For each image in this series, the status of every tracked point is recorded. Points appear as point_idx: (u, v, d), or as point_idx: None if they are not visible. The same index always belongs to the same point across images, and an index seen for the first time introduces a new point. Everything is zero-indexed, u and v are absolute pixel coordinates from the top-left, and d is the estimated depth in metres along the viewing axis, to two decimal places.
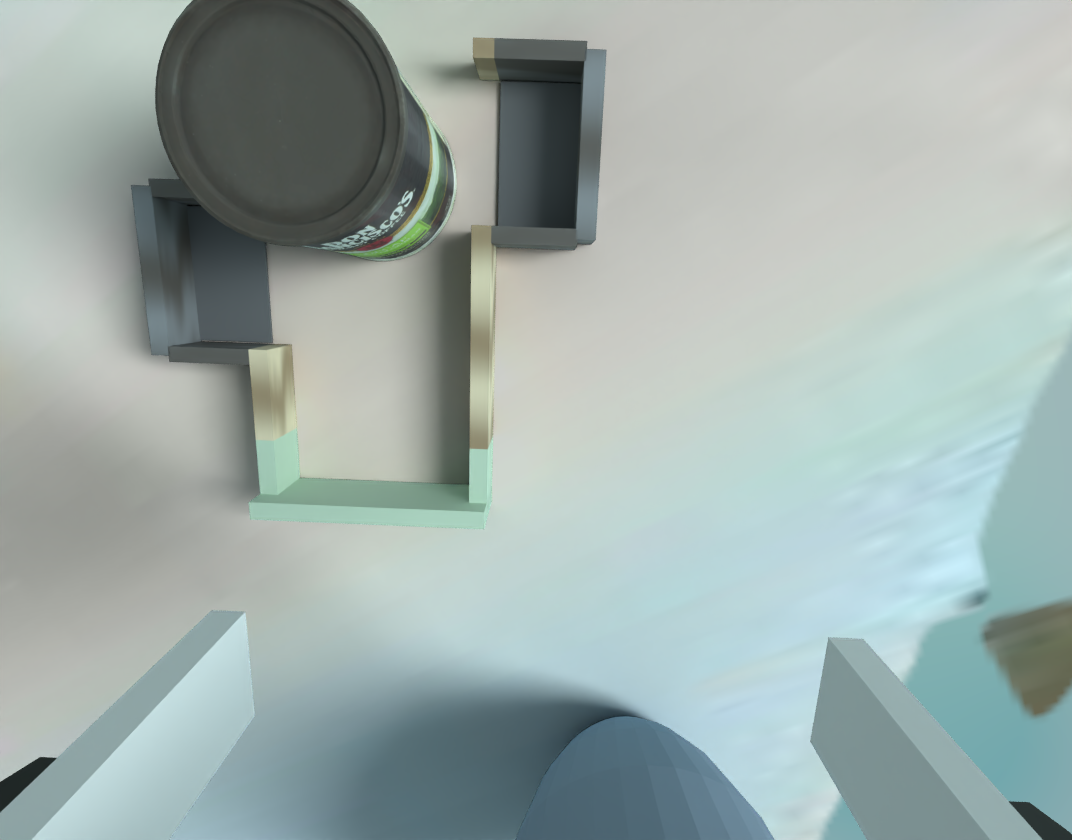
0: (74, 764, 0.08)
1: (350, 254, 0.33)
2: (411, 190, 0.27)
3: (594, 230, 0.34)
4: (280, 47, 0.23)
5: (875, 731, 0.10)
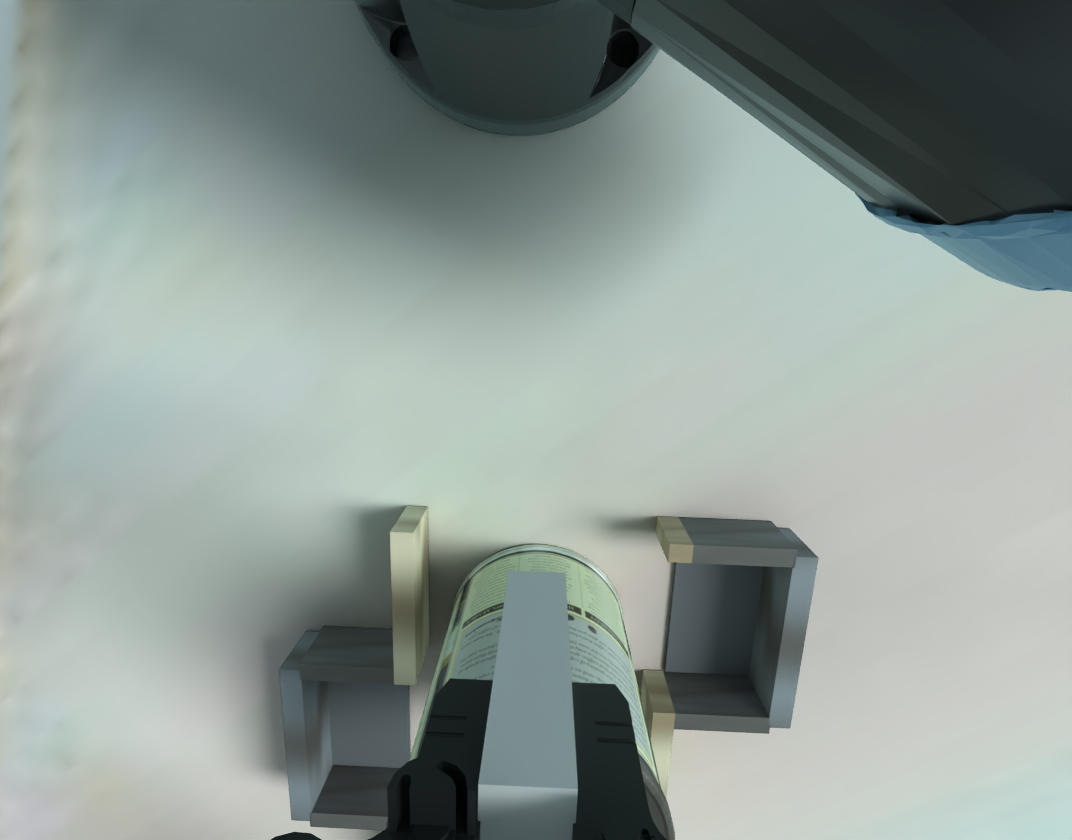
0: (512, 677, 0.11)
1: None
2: None
3: (789, 719, 0.31)
4: None
5: None
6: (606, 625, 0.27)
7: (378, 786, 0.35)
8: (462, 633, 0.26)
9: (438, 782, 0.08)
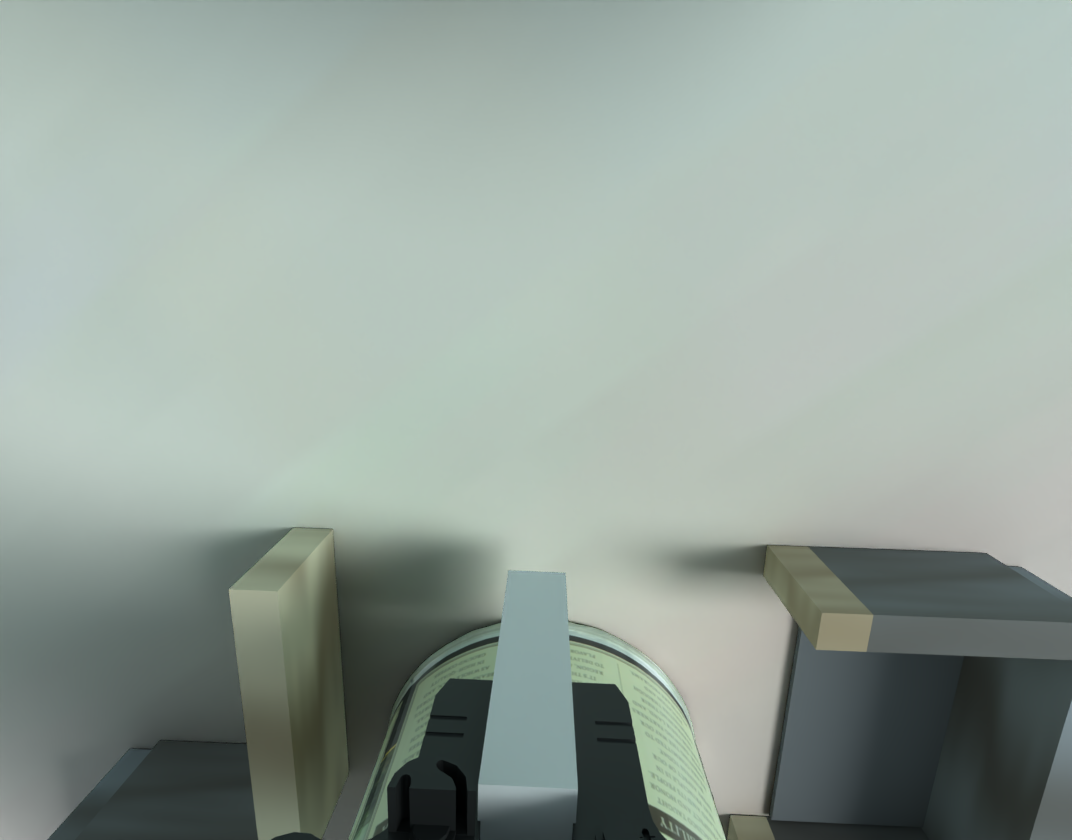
0: (512, 677, 0.11)
1: None
2: None
3: None
4: None
5: None
6: (693, 831, 0.12)
7: None
8: None
9: (438, 782, 0.08)
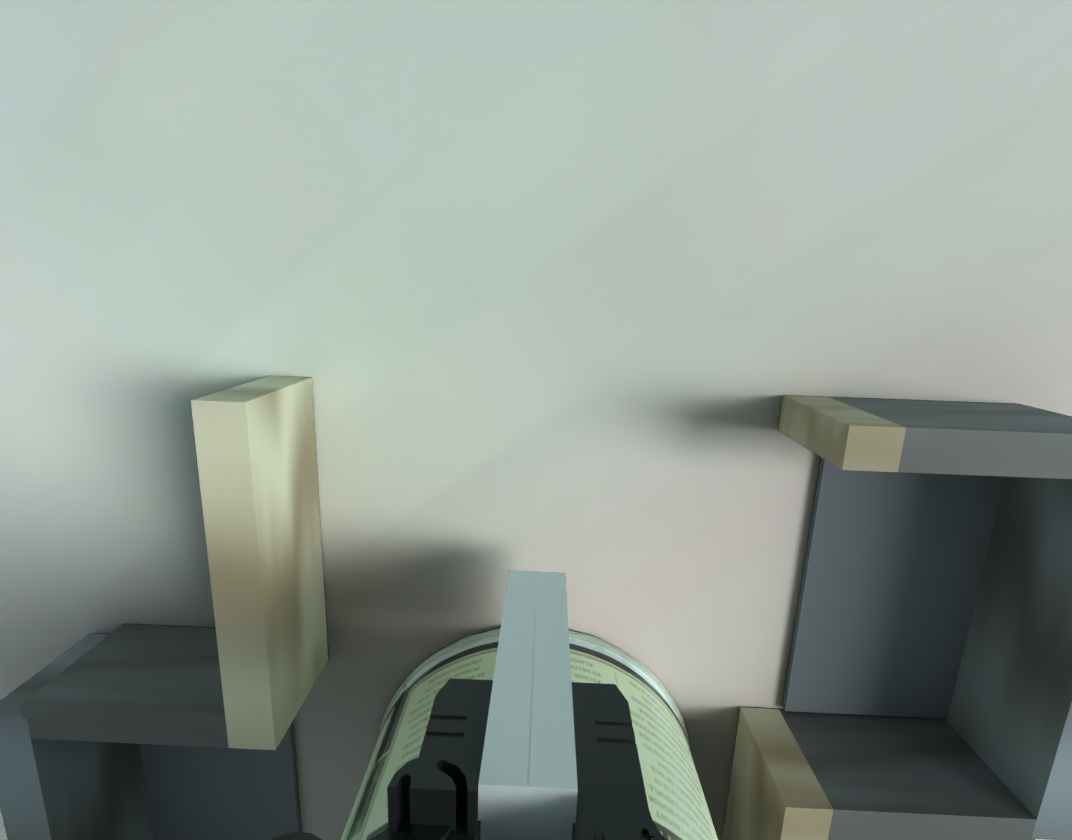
0: (512, 677, 0.11)
1: None
2: None
3: None
4: None
5: None
6: None
7: None
8: None
9: (438, 782, 0.08)
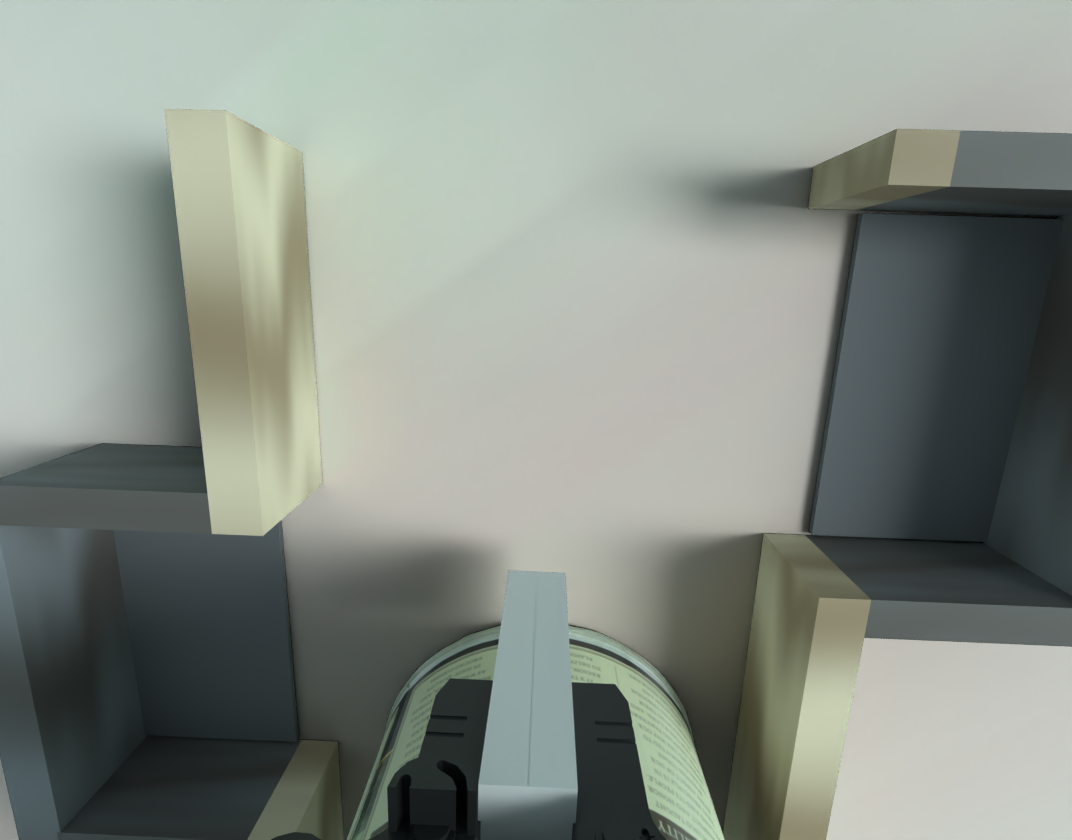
0: (512, 677, 0.11)
1: None
2: None
3: None
4: None
5: None
6: (692, 835, 0.12)
7: (224, 776, 0.17)
8: None
9: (438, 782, 0.08)
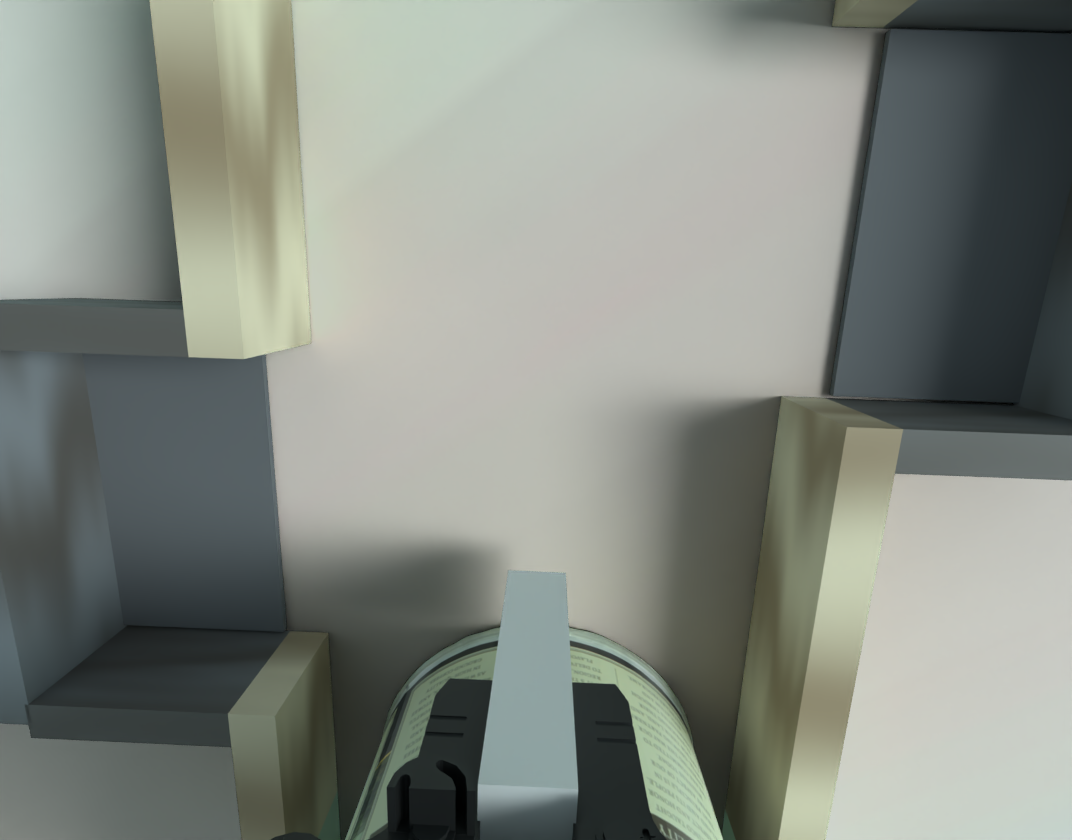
0: (511, 677, 0.11)
1: None
2: None
3: None
4: None
5: None
6: (693, 839, 0.12)
7: (206, 660, 0.16)
8: None
9: (438, 782, 0.08)
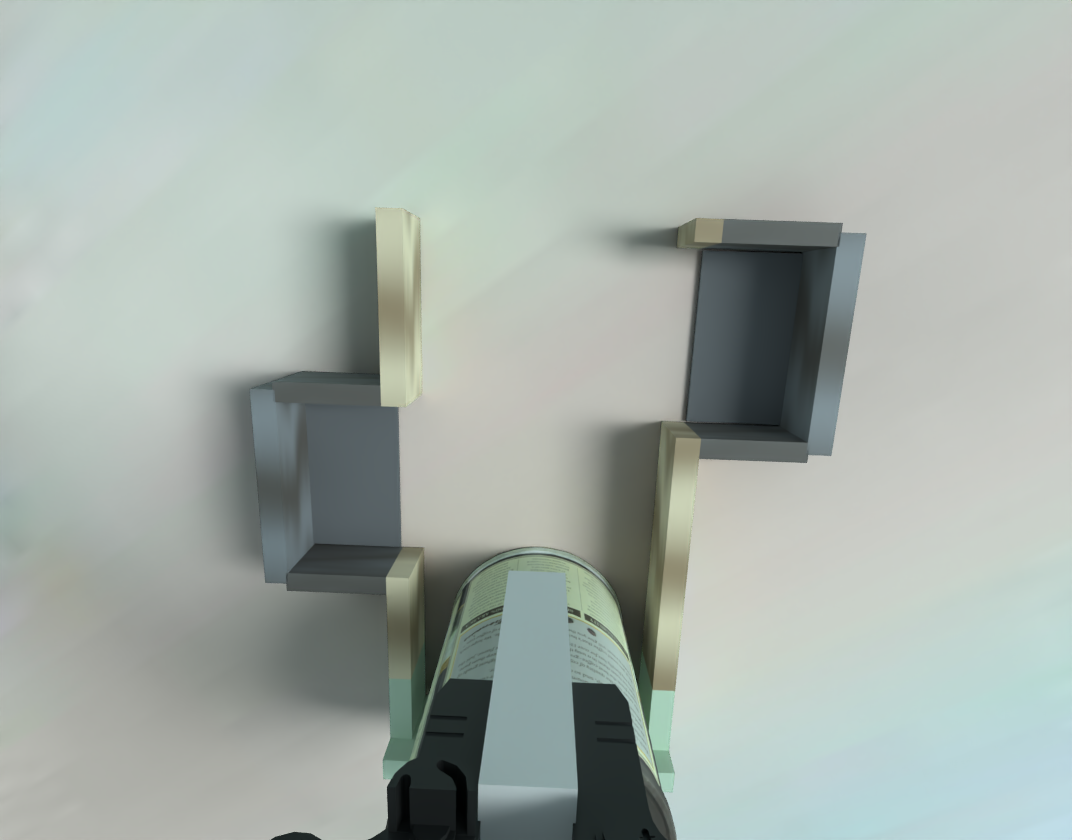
0: (512, 677, 0.11)
1: None
2: None
3: (830, 444, 0.27)
4: None
5: None
6: (606, 627, 0.27)
7: (364, 558, 0.31)
8: (460, 637, 0.26)
9: (438, 782, 0.08)
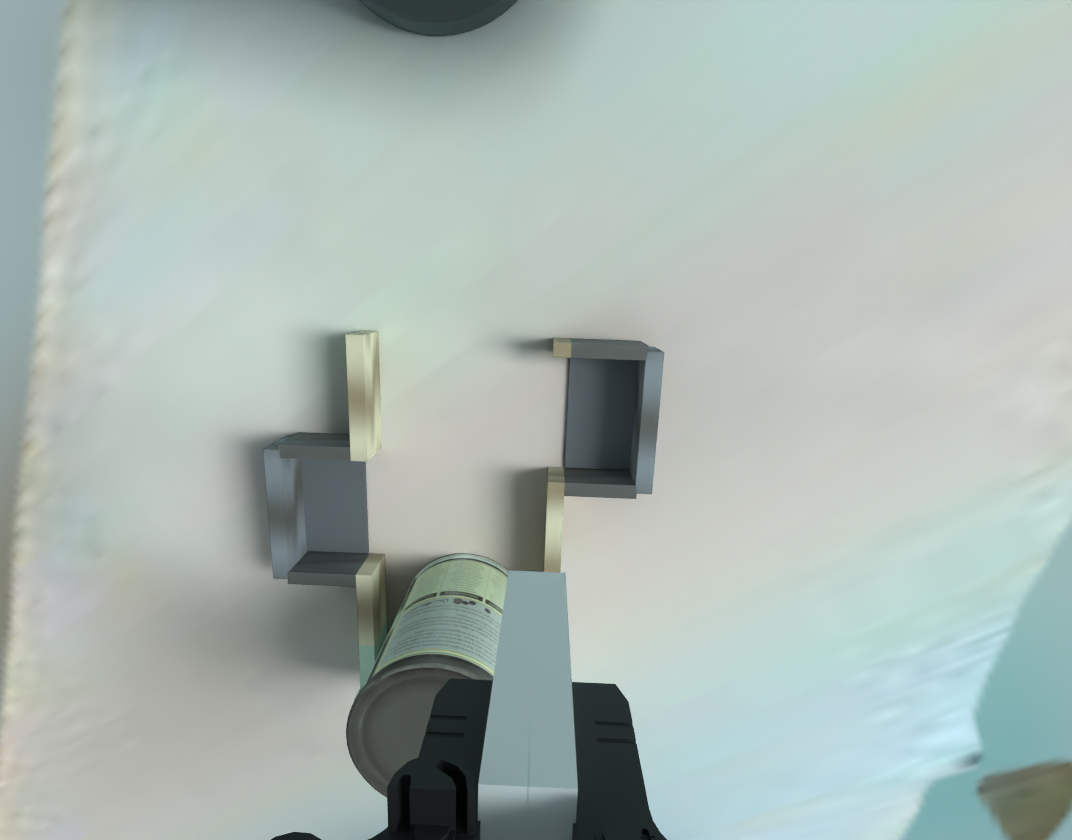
0: (512, 677, 0.11)
1: None
2: None
3: (651, 487, 0.40)
4: None
5: None
6: (500, 608, 0.40)
7: (342, 561, 0.44)
8: (402, 614, 0.40)
9: (438, 782, 0.08)
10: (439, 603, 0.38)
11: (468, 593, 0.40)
